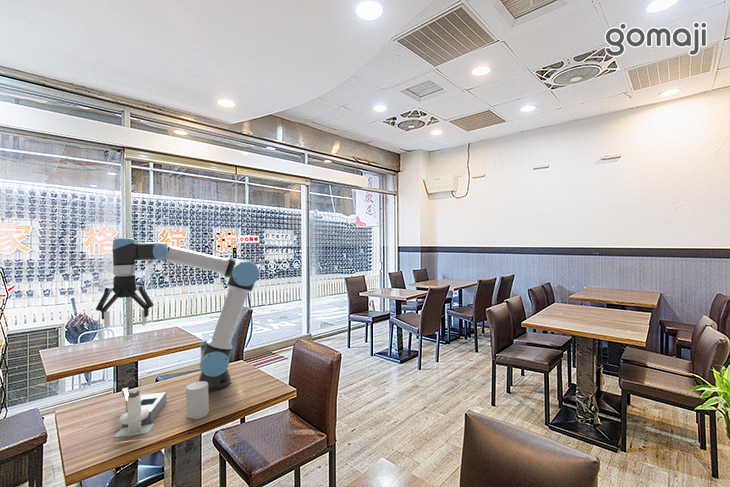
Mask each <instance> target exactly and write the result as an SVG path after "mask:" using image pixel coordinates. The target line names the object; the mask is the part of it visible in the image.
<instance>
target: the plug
mask: <svg viewBox="0 0 730 487" xmlns="http://www.w3.org/2000/svg"><path fill="white" fill-rule="evenodd" d="M141 395H142V394H141V393H140V390H138V389H137V390H133V391H130V392H129V391H128V397H127V410H128V412H127V413H125V414H123V413H122V414H121V415H120V417H119V419H118V420H119V423H120V424H121V425H122V424H128V426H127V427H128V433H135V432H138V431H140V430H141V429H142V425H143V424H142V422H141V420H143V419H145V418H147V417H148V415H149V410H148V409H141Z"/></svg>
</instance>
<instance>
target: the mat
mask: <svg viewBox="0 0 730 487" xmlns="http://www.w3.org/2000/svg"><path fill="white" fill-rule="evenodd" d="M154 426H155V423H148V424H142V429H141V430H140V431H138V432H135V433H128V426H125V427H121V428H120V429H119V431H118V432H117V433H116V434H115V435H114V437H113V438H114V439H116V438H123V437H130V436H136V435H144V434H149V432H151V429H152V428H153V427H154Z"/></svg>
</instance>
